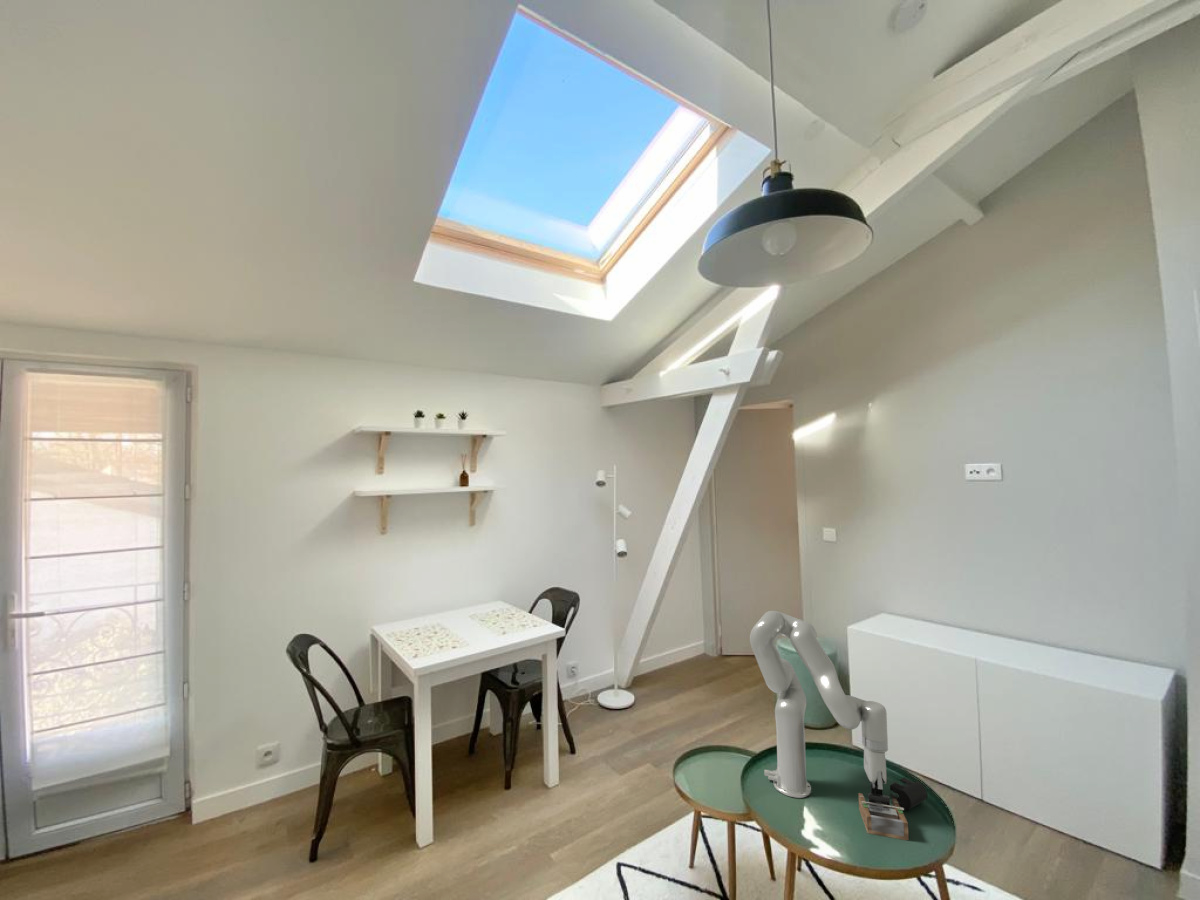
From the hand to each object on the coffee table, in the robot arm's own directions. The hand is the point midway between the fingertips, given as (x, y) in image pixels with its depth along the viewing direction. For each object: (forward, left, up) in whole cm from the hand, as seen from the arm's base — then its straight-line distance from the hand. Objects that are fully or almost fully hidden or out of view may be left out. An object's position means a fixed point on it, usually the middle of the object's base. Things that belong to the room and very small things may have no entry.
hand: (877, 799), depth 163 cm
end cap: (+11, +6, -4) cm, 13 cm away
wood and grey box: (0, -7, -4) cm, 8 cm away
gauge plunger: (0, -5, -2) cm, 6 cm away
